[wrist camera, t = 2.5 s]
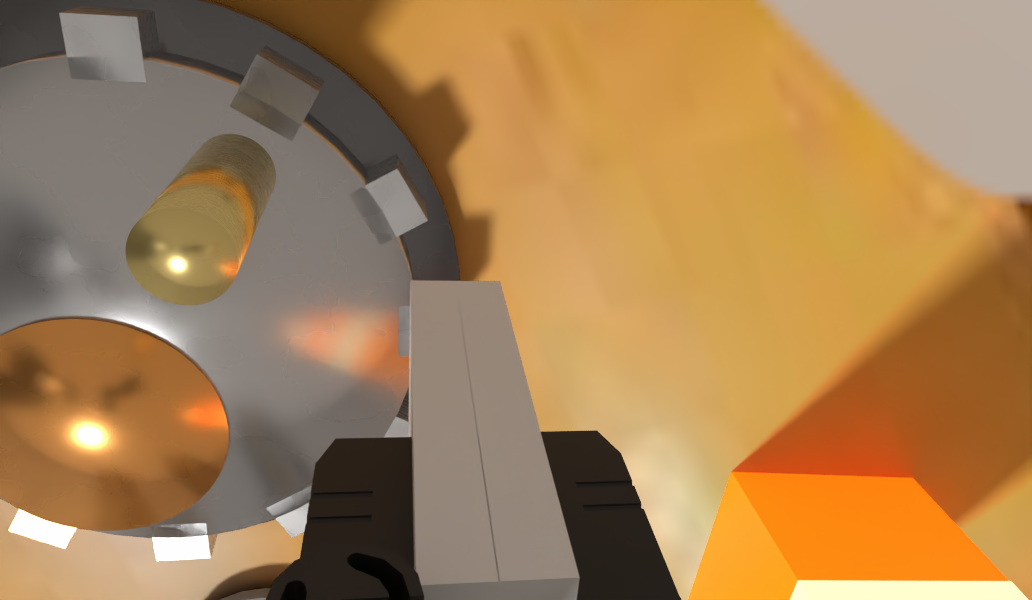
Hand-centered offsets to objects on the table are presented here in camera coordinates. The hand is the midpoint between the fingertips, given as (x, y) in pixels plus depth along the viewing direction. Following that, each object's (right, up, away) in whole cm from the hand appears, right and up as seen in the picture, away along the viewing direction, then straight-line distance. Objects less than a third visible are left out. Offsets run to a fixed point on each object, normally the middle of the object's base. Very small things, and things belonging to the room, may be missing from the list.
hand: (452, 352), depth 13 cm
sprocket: (-10, +1, +12) cm, 16 cm away
